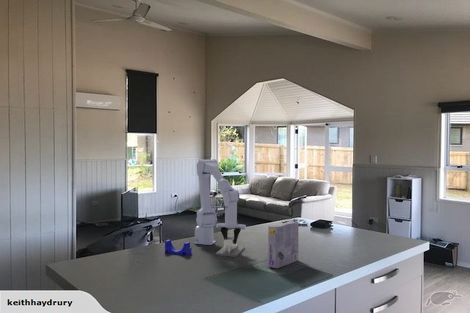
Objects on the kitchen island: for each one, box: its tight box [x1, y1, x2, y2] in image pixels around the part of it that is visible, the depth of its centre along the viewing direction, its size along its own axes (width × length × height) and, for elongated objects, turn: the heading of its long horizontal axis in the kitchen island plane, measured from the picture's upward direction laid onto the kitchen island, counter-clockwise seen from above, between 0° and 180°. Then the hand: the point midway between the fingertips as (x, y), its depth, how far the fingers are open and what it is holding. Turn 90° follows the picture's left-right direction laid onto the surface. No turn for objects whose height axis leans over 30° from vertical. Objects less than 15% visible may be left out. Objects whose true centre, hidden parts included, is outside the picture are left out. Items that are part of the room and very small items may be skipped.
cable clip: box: [164, 239, 193, 257], centre depth 196 cm, size 12×4×6 cm, turn 66°
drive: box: [223, 235, 237, 251], centre depth 199 cm, size 4×9×5 cm, turn 164°
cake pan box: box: [267, 221, 299, 270], centre depth 180 cm, size 19×5×18 cm, turn 141°
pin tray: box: [215, 241, 246, 258], centre depth 199 cm, size 10×16×4 cm, turn 164°
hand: (230, 243), depth 199 cm, fingers closed on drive, 4 cm apart
